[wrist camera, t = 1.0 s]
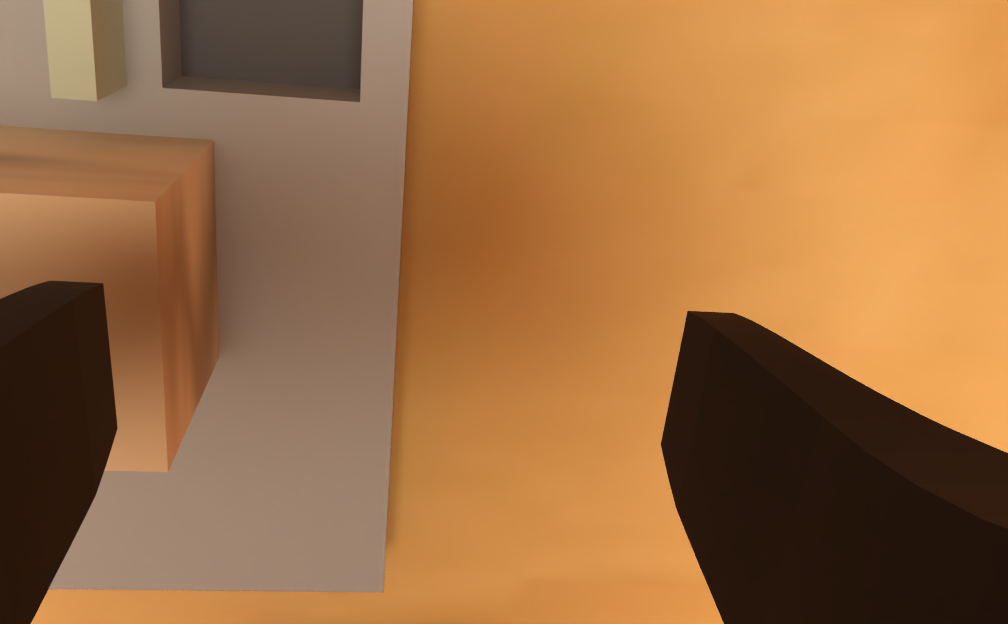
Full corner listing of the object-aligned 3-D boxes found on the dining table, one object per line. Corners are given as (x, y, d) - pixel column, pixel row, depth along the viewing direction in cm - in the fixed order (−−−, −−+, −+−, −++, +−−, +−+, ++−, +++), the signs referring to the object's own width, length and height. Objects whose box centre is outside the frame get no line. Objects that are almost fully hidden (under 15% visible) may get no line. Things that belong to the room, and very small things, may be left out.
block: (219, 357, 22) (168, 472, 17) (-13, 348, 21) (-131, 465, 16) (213, 139, 20) (154, 202, 15) (-40, 123, 19) (-182, 182, 14)
